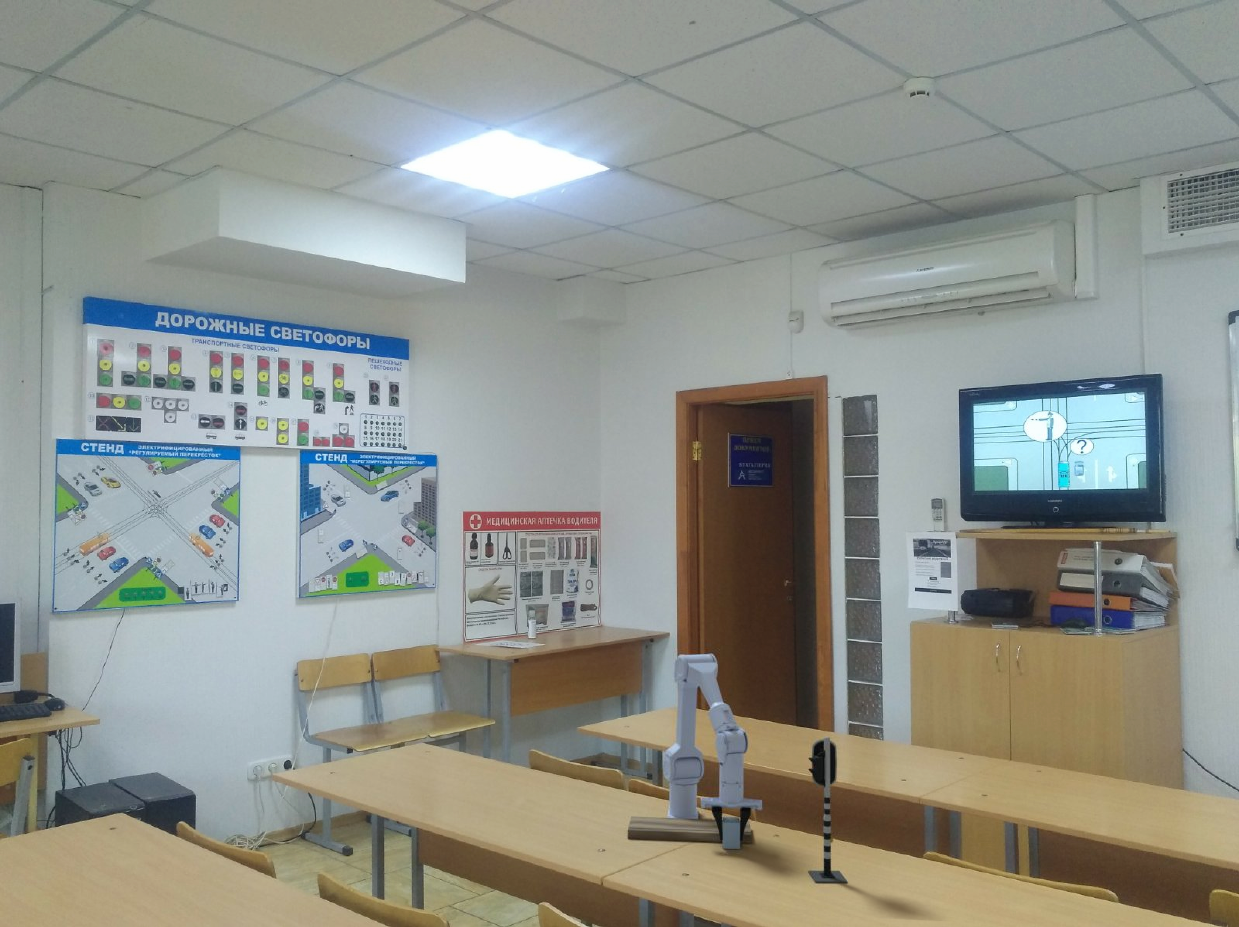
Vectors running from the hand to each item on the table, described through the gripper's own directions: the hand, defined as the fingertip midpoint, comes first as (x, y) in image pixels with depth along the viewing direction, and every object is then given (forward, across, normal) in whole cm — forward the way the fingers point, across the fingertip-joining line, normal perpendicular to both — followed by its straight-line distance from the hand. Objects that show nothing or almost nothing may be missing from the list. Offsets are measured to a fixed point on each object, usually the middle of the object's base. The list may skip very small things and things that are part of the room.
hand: (731, 839), depth 239 cm
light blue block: (+1, 0, +2) cm, 2 cm away
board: (+2, -10, +9) cm, 14 cm away
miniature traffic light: (+2, +20, -20) cm, 28 cm away
